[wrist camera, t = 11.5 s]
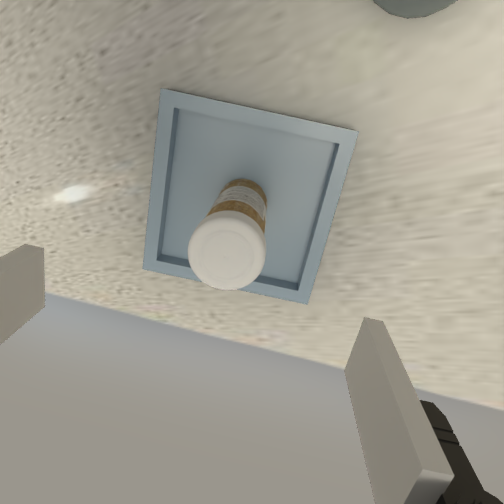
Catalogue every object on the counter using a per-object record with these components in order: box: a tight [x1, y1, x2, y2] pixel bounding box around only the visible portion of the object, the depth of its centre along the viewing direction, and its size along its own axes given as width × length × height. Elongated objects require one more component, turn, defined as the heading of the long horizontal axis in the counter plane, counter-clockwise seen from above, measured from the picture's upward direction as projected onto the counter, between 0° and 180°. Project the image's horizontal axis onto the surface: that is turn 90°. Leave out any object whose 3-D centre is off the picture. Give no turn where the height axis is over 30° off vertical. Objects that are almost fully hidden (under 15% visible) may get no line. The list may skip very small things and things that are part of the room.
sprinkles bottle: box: [188, 179, 267, 290], centre depth 27 cm, size 5×5×14 cm
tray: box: [143, 88, 359, 304], centre depth 33 cm, size 16×16×2 cm
